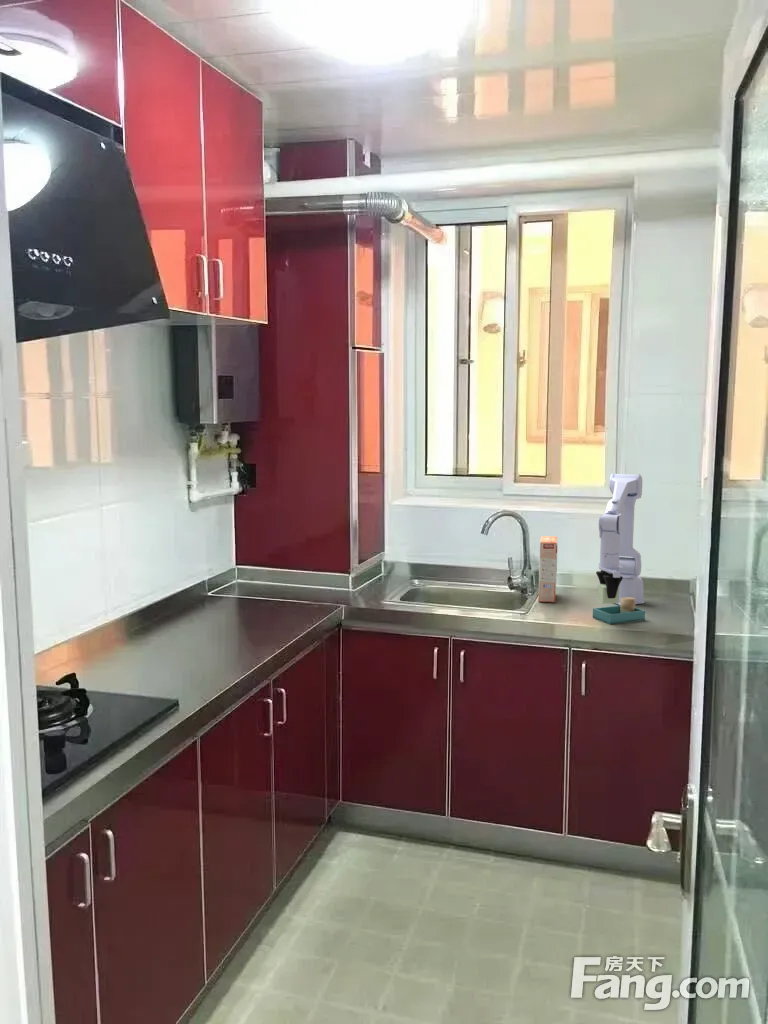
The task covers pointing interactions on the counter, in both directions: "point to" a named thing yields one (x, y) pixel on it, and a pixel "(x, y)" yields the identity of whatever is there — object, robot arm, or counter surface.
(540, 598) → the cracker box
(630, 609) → the cork cylinder
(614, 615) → the bin
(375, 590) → the counter surface
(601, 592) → the sage cube
